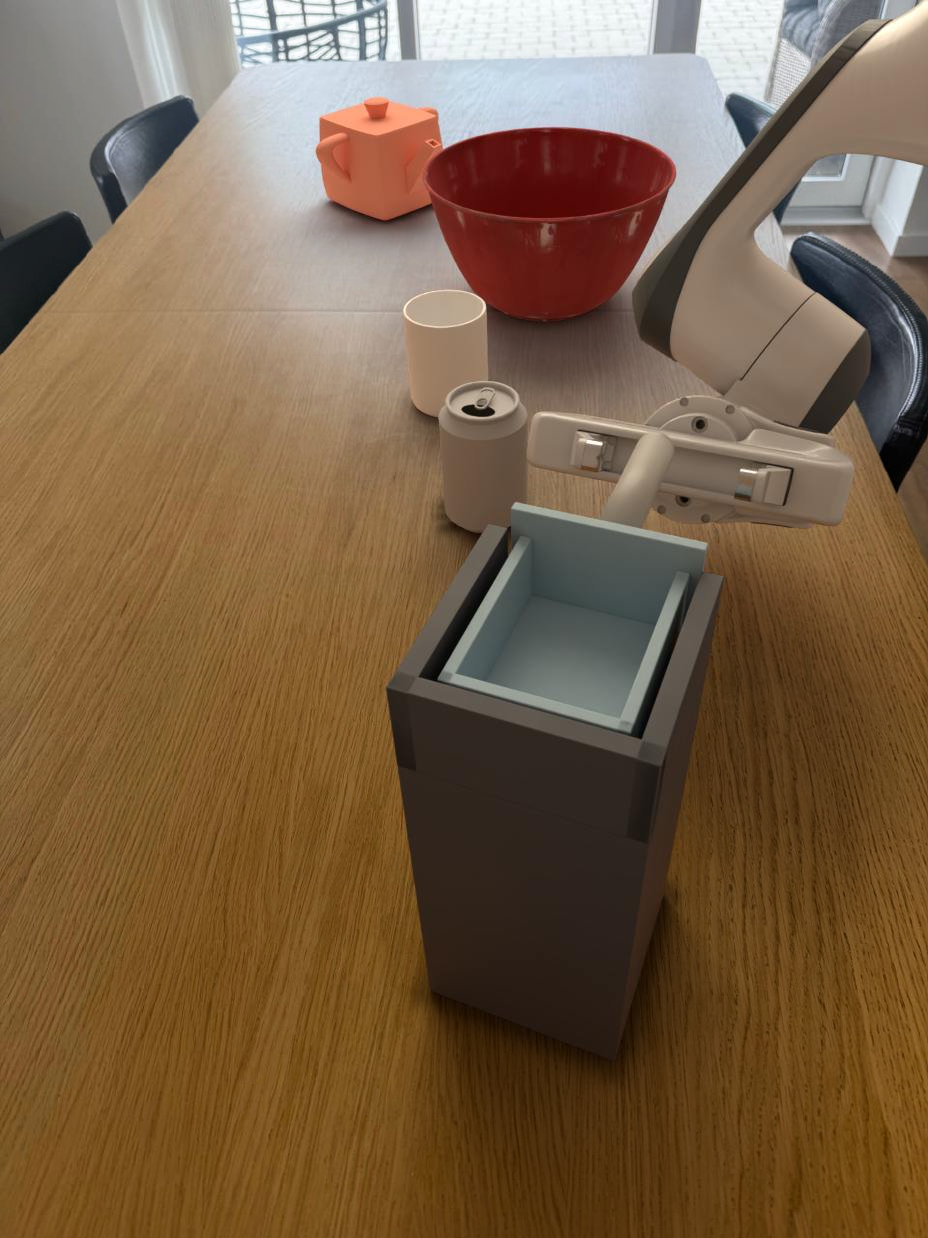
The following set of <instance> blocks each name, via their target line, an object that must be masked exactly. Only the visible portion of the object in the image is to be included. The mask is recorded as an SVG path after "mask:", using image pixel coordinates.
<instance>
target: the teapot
mask: <svg viewBox="0 0 928 1238" xmlns="http://www.w3.org/2000/svg"><path fill="white" fill-rule="evenodd" d="M439 118H440V116H439V112H438V110H437V109H436V108H435V107H431V106H422V107H417V108H416V107H413V106H410V105H406V104H404V103H399V102H396V101H391V100H390V99H389V98H387V97H384V96H372V97H369V98H366V99H365V100H364V101H363V102H362V103H359V104H355V105H352V106H349V107H345V108H343V109H339V110H336V111H333V112H330V113H327V114H323V115H321V116H320V117H319V118H318V119H319V121H318V122H319V123H318V127H319V129H318V132H319V143H317V145H316V147H315V155H316V158H317V160H318V162H319V164H320V170H321V176H322V178H321V179H322V184H323V188H324V191H325V194H326V197H327V198H328V199H329V200H331V201H333V202H335V203H337V204H339V205H341V206H343V207H345V208H347V209H350V210H352V211H354V212H357V213H360V214H362V215H366V216H369V217H372V218H375V219H378V220H381V221H388V220H391V219H395V218H398V217H400V216H402V215H405V214H408V213H410V212H413V211H416V210H418V209H421V208H424V207H426V206H428V205H431V204H432V202H431V199H430V195H429V192H428V190H427V188H426V187H425V185H424V182H423V170H424V168H425V166H426V164H427V162H428V161H429V160H430V159H431V158H432V157H433V156H434V155H436V154H437V153H438V152H440V151H441V150H443V149H444V147H443V141H442V134H441V130H440V129H441V128H440V123H439Z"/></svg>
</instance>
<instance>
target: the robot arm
mask: <svg viewBox="0 0 928 1238" xmlns="http://www.w3.org/2000/svg"><path fill="white" fill-rule="evenodd" d="M846 154H847V155H862V156H863V155H865V156H874V157H881V158H887V159H892V160H897V161H901V162H905V163H911V164H915V165H919V166H922V167H927V168H928V0H921V2H919V3H917V4H916V5H915V6H914V7H912V8H910V10H908V11H906V12H905V13H903V14H901V15H900V16H898V17H896V18H895V19H893V18H881V19H879V18H874V19H873V18H872V19H867V20H866V21H865V22H863V23H862V24H860V25H858V26H857V27H855V28H854V29H853V30H851V31H850V32H849V33H848V34H847V35H845V36H844V37H843V38H842V39H840V40H839V41H838V42H837V43H836V44H835V45H834V46H833V47H832V48H831V49H830V50H829V51H828V52H827V53H826V54H825V55H824V56H823V57H822V58H820V60H819V61H817V63H816V64H815V65H814V67H813V68H812V69H811V70H810V71H809V72H808V73H807V74H806V76H805V77H804V78H803V79H802V80H801V82H799V84H798V85H797V86H796V87H795V88H794V90H793V91H792V92H791V93H790V94H789V96H788V97H787V98H786V99H785V100H784V101H783V103H782V104H781V105H780V106H779V107H778V109H777V110H776V111H775V112H774V113H773V115H772V116H771V117H770V118H769V120H768V121H767V122H766V123H765V125H763V127H762V128H761V129H760V130H759V132H758V133H757V135H756V136H755V137H754V138H753V139H752V140H751V142H750V143H749V144H748V145H747V147H746V148H745V149H744V151H743V152H742V153H741V154H740V156H739V157H738V158H737V159H736V161H734V163H733V164H732V166H731V167H730V168H729V169H728V170H727V171H726V173H725V174H724V176H723V177H721V179H720V180H719V182H718V183H717V184H716V185H715V186H714V188H713V189H712V190H711V192H710V193H709V194H708V195H707V197H705V199H704V200H703V202H702V203H701V204H700V205H699V206H698V208H697V209H696V210H695V211H694V213H693V214H692V215H691V216H690V217H689V219H688V220H687V221H686V222H685V223H684V224H683V226H682V227H681V228H680V229H679V230H677V231H676V232H675V233H674V234H673V235H672V236H671V237H670V238H669V239H667V240H666V242H664V243H663V244H662V245H661V246H660V247H659V248H658V250H657V251H656V252H655V253H654V254H653V256H651V257H650V258H649V260H648V262H647V263H646V265H645V266H644V268H643V269H642V271H641V273H640V275H639V277H638V279H637V281H636V284H635V286H634V288H633V290H632V293H631V300H632V311H633V316H634V321H635V325H636V329H637V334H638V336H639V339H640V341H642V342H643V343H645V344H646V345H648V346H650V347H651V348H653V349H654V350H655V351H657V352H659V353H661V354H662V355H664V356H665V357H667V358H669V359H670V360H671V361H673V362H675V363H679V364H680V365H682V366H683V367H684V368H686V369H687V370H688V371H689V372H691V373H692V374H693V375H695V376H696V377H697V378H698V379H700V380H701V381H702V382H704V383H705V384H706V385H708V386H709V387H710V388H711V389H713V390H714V391H715V392H716V393H718V394H719V395H721V396H714V395H705V394H704V395H703V394H696V395H687V396H682V397H678V398H675V399H674V400H671V401H669V402H667V403H665V404H663V405H662V406H661V407H659V408H657V409H656V410H655V411H654V412H653V413H652V414H651V415H650V416H649V417H648V418H647V419H646V420H645V422H644V423H643V424H641V423H636V422H635V423H634V422H629V421H624V420H617V419H613V418H606V417H601V416H595V415H589V414H581V413H574V412H562V411H545V410H543V411H537V412H536V413H535V414H534V415H533V417H532V420H531V424H530V429H529V432H528V445H527V456H526V457H527V464H529V465H531V466H532V467H535V468H538V469H540V470H541V469H542V470H546V471H552V472H556V473H560V474H561V473H562V474H567V475H572V476H577V477H582V478H587V479H592V480H596V481H601V482H607V483H613V484H617V483H618V481H619V479H620V477H621V475H622V473H623V471H624V469H625V467H626V465H627V463H628V461H629V459H630V457H631V455H632V453H633V451H634V449H635V447H636V445H637V443H638V441H639V440H640V439H641V437H642V436H644V435H645V434H647V433H649V432H655V431H657V432H662V433H664V434H666V435H668V436H669V437H670V439H671V440H672V442H673V444H674V456H673V459H672V461H671V463H670V465H669V468H668V470H667V472H666V474H665V477H664V479H663V481H662V483H661V486H660V488H659V490H658V492H657V495H656V497H655V499H654V501H653V504H652V506H651V509H652V510H654V511H655V512H656V513H658V514H659V515H660V516H662V517H663V518H666V519H668V520H670V521H673V522H676V523H680V524H684V525H705V524H710V523H711V524H712V523H715V524H718V525H723V524H735V523H736V524H737V523H750V524H753V525H755V524H756V525H767V526H775V527H780V528H781V527H782V528H788V529H794V528H795V529H801V530H809V529H812V528H814V526H815V525H820V526H824V527H837V526H839V525H841V523H842V521H843V520H844V516H845V513H846V509H847V506H848V503H849V498H850V495H851V489H852V485H853V482H854V477H855V473H856V467H855V463H854V462H853V460H852V459H851V458H850V456H849V455H848V454H847V453H846V452H844V451H843V450H841V449H838V448H836V438H835V437H834V436H833V435H831V434H830V433H831V431H832V430H833V429H834V428H835V427H836V426H837V425H838V423H839V422H840V420H841V419H842V418H843V417H844V415H845V414H846V412H847V411H848V410H849V409H850V407H851V406H852V404H853V403H854V401H855V400H856V398H857V396H858V395H859V393H860V391H861V390H862V388H863V386H864V385H865V384H866V381H867V379H868V377H869V375H870V371H871V363H872V343H871V336H870V333H869V332H868V329H867V328H865V327H864V326H863V325H861V323H859V322H858V321H856V320H855V319H854V318H853V317H852V316H850V315H849V314H847V313H846V312H845V311H843V310H842V309H841V308H840V307H838V306H837V305H835V304H834V303H833V302H831V301H830V300H829V299H827V298H825V297H824V296H823V295H822V294H820V293H819V292H816V291H815V290H813V289H812V288H810V287H809V286H808V285H806V284H805V283H804V282H803V281H801V280H799V279H798V278H797V277H795V276H794V275H793V274H791V273H790V272H789V271H788V270H786V269H785V268H783V267H782V266H780V265H779V264H778V263H776V262H775V261H773V260H772V259H771V258H769V257H768V256H767V255H766V254H764V252H763V251H762V250H761V249H760V247H759V245H758V243H757V241H756V238H755V237H756V236H755V232H756V230H757V229H758V228H759V227H760V225H761V224H762V223H763V222H764V221H765V220H766V218H767V217H768V216H769V215H770V214H771V213H772V212H773V211H774V209H776V208H777V206H778V205H779V204H780V203H781V202H782V200H784V199H785V197H786V196H787V195H788V194H789V193H790V192H791V191H792V189H794V187H796V185H797V184H798V183H799V182H800V181H801V179H802V178H803V177H804V176H805V175H806V174H807V173H808V171H810V170H811V168H812V167H813V166H814V165H815V164H816V163H817V162H818V161H819V160H821V159H824V158H827V157H830V156H836V155H846Z"/></svg>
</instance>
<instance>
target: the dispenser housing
mask: <svg viewBox="0 0 928 1238" xmlns="http://www.w3.org/2000/svg"><path fill="white" fill-rule="evenodd" d="M508 528H509V527H508ZM508 528H504V527H500V526H495V525H491V524H488V525H487V527H486V528H485V530H484V532H483V533H481V535H480V537H479V538H478V540H477V541H476V543H475V544H474V546H473V547H472V549H471V551H470V552H469V554H468V555H467V557H466V558H465V560H464V561H463V563H462V564H461V567H460V568H459V570H458V571H457V573H456V574H455V576H454V578H453V579H452V581H451V582H450V584H449V586H448V587H447V589H446V591H445V592H444V593H443V596H442V597H441V599H440V600H439V601H438V603H437V605H436V606H435V608H434V610H433V611H432V613H431V614H430V616H429V618H428V619H427V621H426V622H425V624H424V625H423V627H422V628H421V630H420V632H419V634H418V635H417V637H416V638H415V640H414V642H413V643H412V645H411V647H410V648H409V650H408V651H407V653H406V654H405V656H404V657H403V659H402V660H401V662H400V664H399V665H398V667H397V669H396V670H395V672H394V673H393V675H392V677H391V678H390V680H389V681H388V683H387V685H386V686H385V692H386V699H387V707H388V713H389V720H390V726H391V734H392V740H393V746H394V751H395V752H394V753H395V761H396V766H397V774H398V778H399V779H398V780H399V787H400V794H401V800H402V808H403V814H404V821H405V828H406V835H407V842H408V849H409V856H410V863H411V868H412V876H413V883H414V889H415V896H416V902H417V911H418V917H419V924H420V931H421V937H422V944H423V951H424V959H425V965H426V966H425V967H426V972H427V973H426V974H427V980H428V985H429V991H431V992H433V993H436V994H438V995H440V996H443V997H446V998H448V999H451V1000H453V1001H456V1002H459V1003H461V1004H464V1005H467V1006H469V1007H471V1008H474V1009H476V1010H480V1011H481V1012H485V1013H487V1014H490V1015H492V1016H495V1017H498V1018H499V1019H503V1020H505V1021H508V1022H511V1023H512V1024H516V1025H518V1026H521V1027H522V1028H526V1029H528V1030H531V1031H534V1032H537V1033H539V1034H541V1035H544V1036H546V1037H549V1038H551V1039H554V1040H557V1041H559V1042H562V1043H564V1044H567V1045H570V1046H573V1047H575V1048H577V1049H580V1050H582V1051H585V1052H588V1053H591V1054H594V1055H595V1056H598V1057H601V1058H603V1059H606V1060H608V1061H611V1062H615V1061H616V1058H617V1054H618V1051H619V1048H620V1045H621V1041H622V1038H623V1034H624V1030H625V1027H626V1024H627V1021H628V1017H629V1014H630V1010H631V1006H632V1004H633V1000H634V997H635V994H636V990H637V987H638V983H639V980H640V977H641V974H642V971H643V967H644V962H645V959H646V957H647V953H648V949H649V946H650V944H651V940H652V936H653V934H654V933H653V932H654V929H655V925H656V923H657V919H658V916H659V912H660V909H661V906H662V903H663V899H664V896H665V890H666V887H667V886H666V885H667V881H668V875H669V870H670V865H671V860H672V855H673V850H674V846H675V845H674V844H675V838H676V833H677V828H678V822H679V818H680V813H681V808H682V802H683V797H684V791H685V787H686V781H687V776H688V771H689V765H690V760H691V754H692V749H693V744H694V739H695V733H696V729H697V723H698V718H699V713H700V707H701V704H702V703H701V702H702V697H703V692H704V688H705V687H704V686H705V681H706V677H707V671H708V667H709V666H708V665H709V660H710V655H711V650H712V645H713V640H714V635H715V629H716V624H717V618H718V613H719V608H720V604H721V598H722V592H723V587H724V581H725V576H724V575H719V574H716V573H710V572H708V571H707V572H706V571H704V572H702V573H701V575H700V578H699V581H698V583H697V586H696V589H695V592H694V595H693V597H692V600H691V603H690V606H689V608H688V611H687V614H686V617H685V620H684V622H683V625H682V628H681V631H680V634H679V636H678V639H677V642H676V645H675V648H674V650H673V653H672V656H671V659H670V662H669V664H668V667H667V670H666V673H665V675H664V678H663V681H662V684H661V687H660V689H659V692H658V695H657V698H656V701H655V703H654V706H653V709H652V712H651V715H650V717H649V720H648V723H647V726H646V728H645V731H644V734H643V737H642V739H638V738H634V737H631V736H627V735H624V734H620V733H617V732H613V731H609V730H606V729H602V728H599V727H595V726H592V725H588V724H584V723H581V722H577V721H574V720H570V719H567V718H563V717H559V716H556V715H552V714H549V713H545V712H542V711H538V710H534V709H531V708H527V707H524V706H520V705H517V704H513V703H509V702H506V701H502V700H499V699H495V698H492V697H488V696H484V695H481V694H477V693H474V692H470V691H467V690H463V689H459V688H456V687H452V686H449V685H445V684H442V683H438V682H437V679H438V677H439V675H440V674H441V672H442V670H443V669H444V667H445V665H446V663H447V662H448V660H449V658H450V657H451V655H452V653H453V651H454V650H455V648H456V646H457V644H458V643H459V641H460V639H461V638H462V636H463V634H464V632H465V631H466V629H467V627H468V626H469V624H470V622H471V620H472V619H473V617H474V615H475V614H476V612H477V610H478V608H479V607H480V605H481V603H482V601H483V600H484V598H485V596H486V595H487V593H488V591H489V589H490V588H491V586H492V584H493V583H494V581H495V579H496V577H497V576H498V574H499V572H500V570H501V569H502V567H503V565H504V564H505V562H506V560H507V558H508V557H509V529H508Z"/></svg>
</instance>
